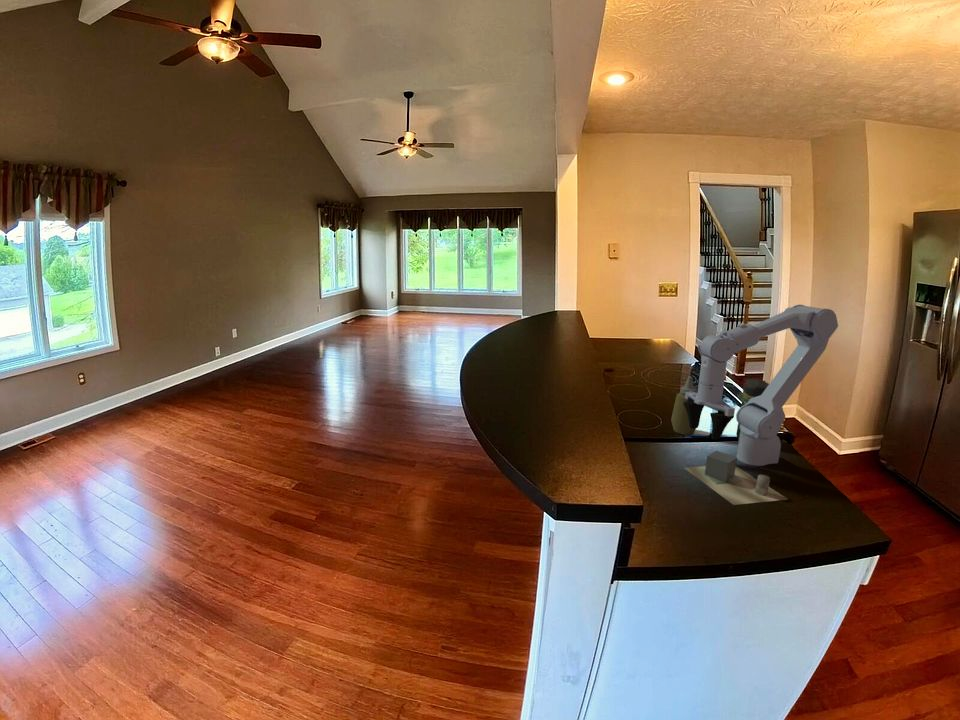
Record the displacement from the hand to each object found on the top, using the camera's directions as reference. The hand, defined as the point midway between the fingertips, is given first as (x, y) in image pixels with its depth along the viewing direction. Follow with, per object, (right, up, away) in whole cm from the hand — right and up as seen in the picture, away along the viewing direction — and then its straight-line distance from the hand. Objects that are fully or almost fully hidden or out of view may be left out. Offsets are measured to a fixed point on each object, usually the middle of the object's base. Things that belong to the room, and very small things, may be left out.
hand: (704, 433), depth 122 cm
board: (+2, -12, -9) cm, 15 cm away
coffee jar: (+23, -6, +19) cm, 31 cm away
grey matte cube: (+1, -9, -6) cm, 11 cm away
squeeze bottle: (+6, -4, +26) cm, 27 cm away
